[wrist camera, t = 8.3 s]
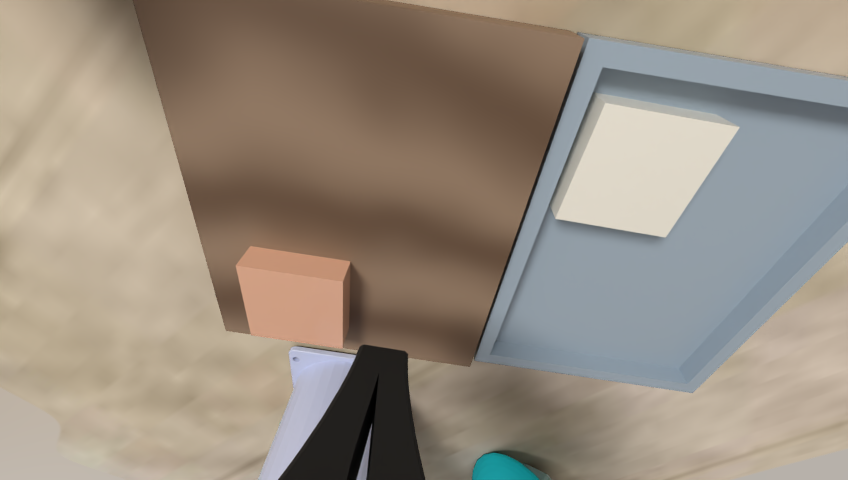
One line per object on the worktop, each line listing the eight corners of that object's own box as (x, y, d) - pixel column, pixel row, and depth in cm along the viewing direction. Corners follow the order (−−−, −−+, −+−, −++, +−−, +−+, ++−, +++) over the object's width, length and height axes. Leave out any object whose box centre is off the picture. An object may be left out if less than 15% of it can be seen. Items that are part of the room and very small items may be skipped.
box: (681, 372, 24) (692, 393, 23) (473, 341, 24) (474, 360, 23) (942, 92, 14) (988, 104, 13) (577, 32, 14) (589, 37, 12)
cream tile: (651, 219, 17) (665, 237, 16) (548, 201, 17) (555, 218, 16) (716, 114, 15) (740, 127, 13) (593, 92, 14) (605, 103, 13)
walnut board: (469, 340, 24) (469, 366, 23) (241, 306, 24) (225, 330, 22) (569, 30, 14) (584, 38, 12) (162, -37, 13) (122, -39, 12)
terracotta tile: (349, 327, 21) (342, 348, 20) (262, 314, 21) (251, 335, 20) (350, 261, 18) (342, 281, 17) (250, 246, 18) (235, 265, 17)
